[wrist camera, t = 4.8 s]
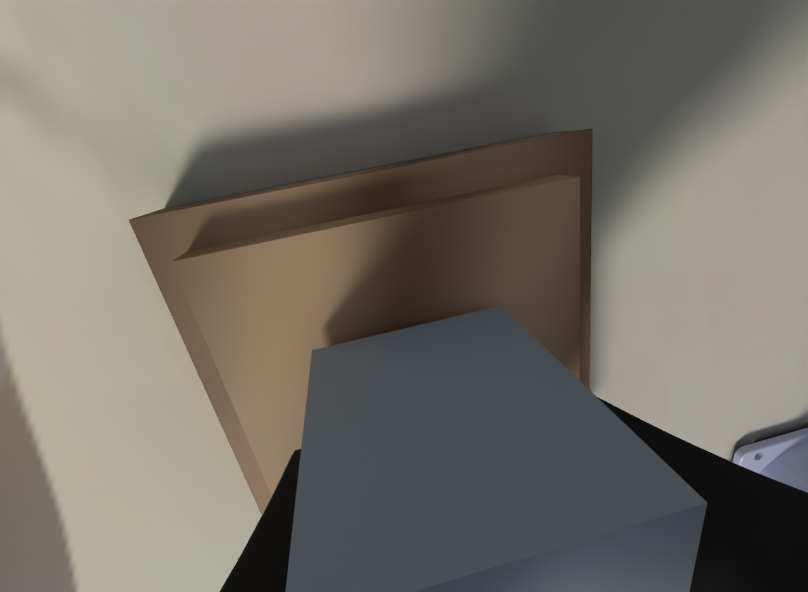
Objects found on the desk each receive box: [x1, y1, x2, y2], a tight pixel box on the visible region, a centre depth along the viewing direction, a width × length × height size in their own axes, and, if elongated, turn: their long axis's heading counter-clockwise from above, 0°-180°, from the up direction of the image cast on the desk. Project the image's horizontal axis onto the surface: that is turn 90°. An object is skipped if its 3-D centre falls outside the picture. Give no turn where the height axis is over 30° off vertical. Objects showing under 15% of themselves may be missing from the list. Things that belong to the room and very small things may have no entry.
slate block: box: [285, 306, 707, 592], centre depth 8 cm, size 5×5×6 cm
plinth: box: [129, 129, 592, 515], centre depth 12 cm, size 12×12×3 cm
